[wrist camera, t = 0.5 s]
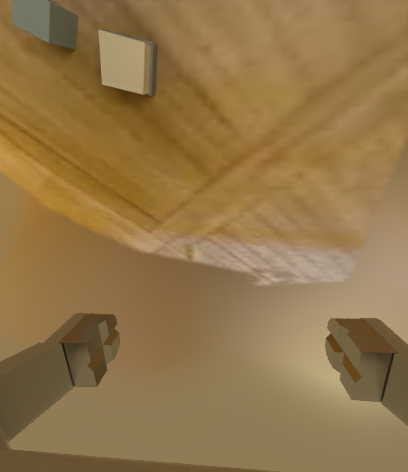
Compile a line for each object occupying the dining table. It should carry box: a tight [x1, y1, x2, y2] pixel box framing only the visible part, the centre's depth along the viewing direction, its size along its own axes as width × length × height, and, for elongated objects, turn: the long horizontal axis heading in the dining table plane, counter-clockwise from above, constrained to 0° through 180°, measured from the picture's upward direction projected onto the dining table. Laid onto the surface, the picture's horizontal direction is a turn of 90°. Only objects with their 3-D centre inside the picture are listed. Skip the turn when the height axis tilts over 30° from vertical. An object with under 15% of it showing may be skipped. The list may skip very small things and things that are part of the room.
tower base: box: [106, 30, 158, 96], centre depth 40 cm, size 8×8×5 cm
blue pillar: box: [12, 0, 78, 49], centre depth 35 cm, size 5×5×9 cm
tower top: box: [98, 29, 151, 95], centre depth 37 cm, size 7×7×5 cm
